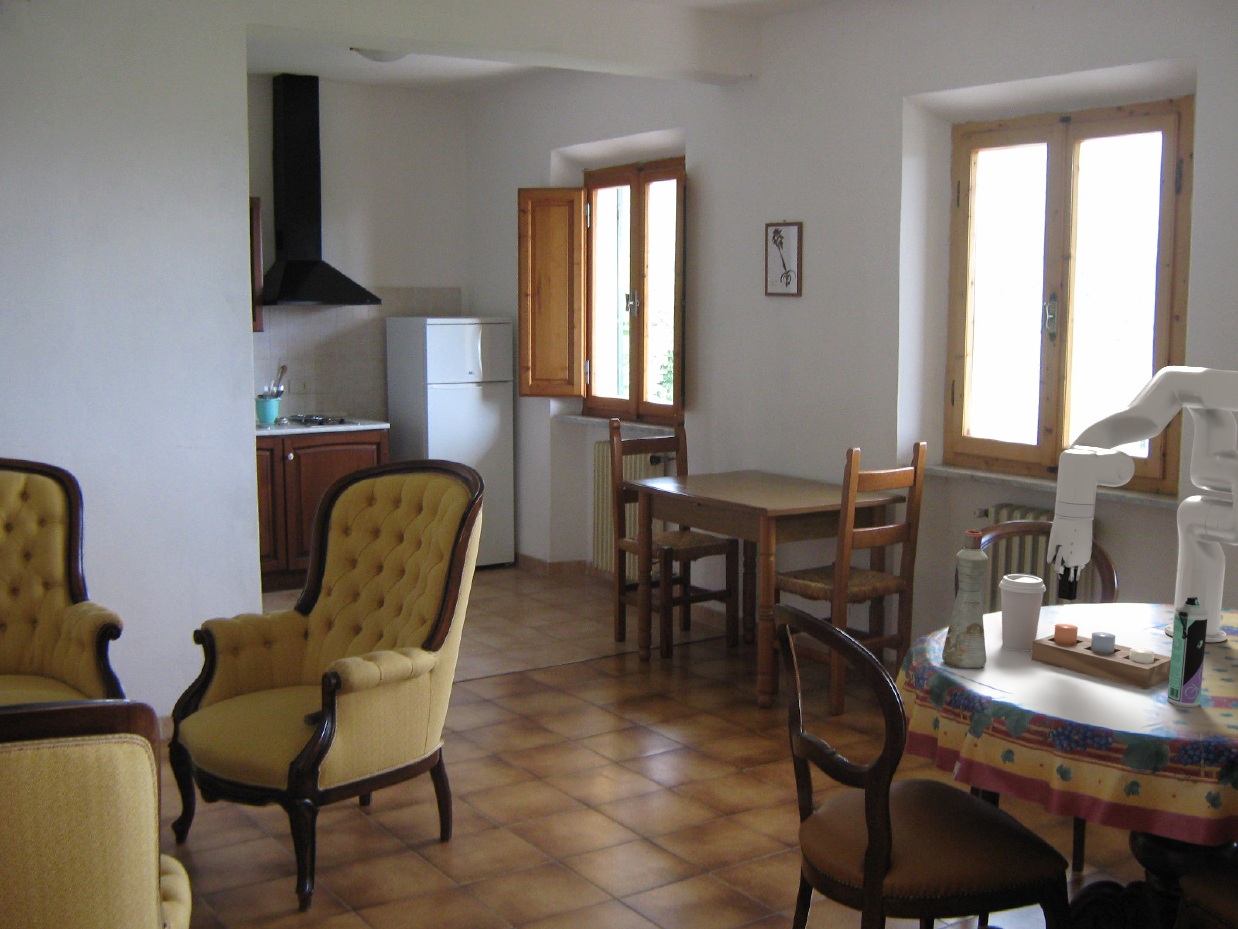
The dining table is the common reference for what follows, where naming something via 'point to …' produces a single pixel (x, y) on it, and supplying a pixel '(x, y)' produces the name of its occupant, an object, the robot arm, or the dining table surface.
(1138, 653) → the cream cylinder
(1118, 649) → the wooden egg holder
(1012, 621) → the coffee cup
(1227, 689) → the dining table surface
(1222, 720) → the dining table surface
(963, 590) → the bottle
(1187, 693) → the spray can
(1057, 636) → the rust egg
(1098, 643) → the blue-grey egg
